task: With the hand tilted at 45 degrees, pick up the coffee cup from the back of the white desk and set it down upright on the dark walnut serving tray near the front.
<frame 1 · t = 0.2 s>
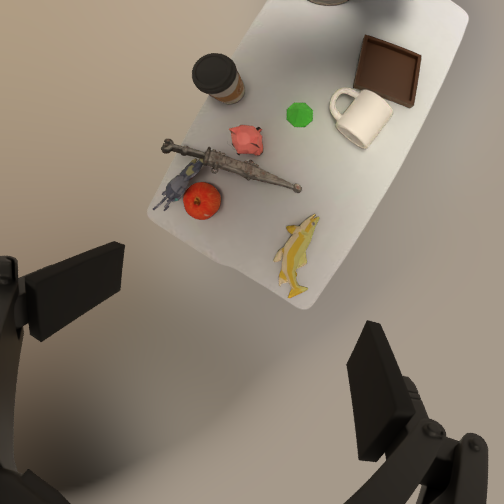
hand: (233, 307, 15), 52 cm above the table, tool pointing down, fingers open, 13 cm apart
coffee cup: (231, 91, 61), on the table
decorative dagger: (301, 190, 63), on the table, touching toy 2
cat figurine: (254, 144, 63), on the table
toy: (276, 248, 65), point 2 cm above the table
apple: (207, 199, 68), on the table, touching toy 2
mug: (353, 116, 58), on the table
toy 2: (202, 155, 63), point 3 cm above the table, touching apple, decorative dagger
green pyramid: (299, 114, 60), on the table
serving tray: (387, 72, 54), on the table
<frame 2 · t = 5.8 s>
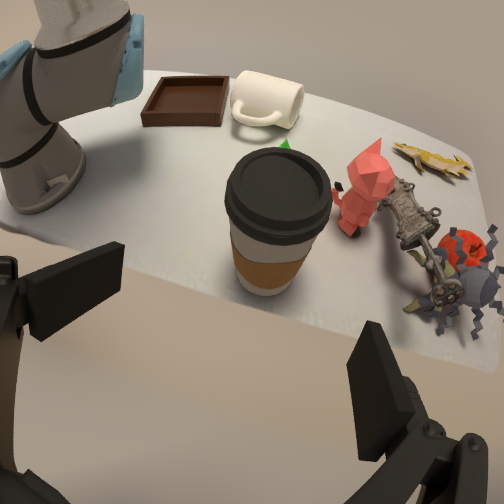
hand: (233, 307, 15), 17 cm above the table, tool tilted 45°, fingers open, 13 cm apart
coffee cup: (264, 272, 35), on the table
decorative dagger: (377, 161, 45), on the table, touching toy 2
cat figurine: (347, 220, 39), on the table
toy: (448, 175, 43), point 2 cm above the table
apple: (446, 274, 36), on the table, touching toy 2
mug: (261, 124, 48), on the table
toy 2: (403, 281, 32), point 3 cm above the table, touching apple, decorative dagger
serving tray: (188, 104, 50), on the table
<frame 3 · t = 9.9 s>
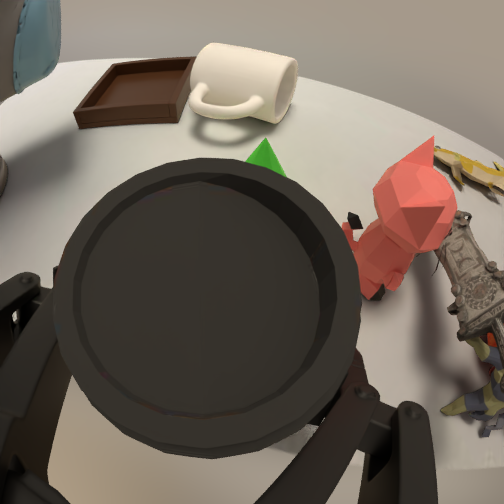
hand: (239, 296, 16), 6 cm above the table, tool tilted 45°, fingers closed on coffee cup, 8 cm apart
coffee cup: (223, 369, 20), on the table, touching gripper
decorative dagger: (404, 171, 30), on the table, touching toy 2
cat figurine: (365, 270, 24), on the table
toy: (495, 191, 28), point 2 cm above the table
apple: (497, 343, 21), on the table, touching toy 2
mug: (236, 117, 33), on the table
toy 2: (449, 378, 17), point 3 cm above the table, touching apple, decorative dagger
green pyramid: (260, 189, 28), on the table
serving tray: (141, 95, 35), on the table
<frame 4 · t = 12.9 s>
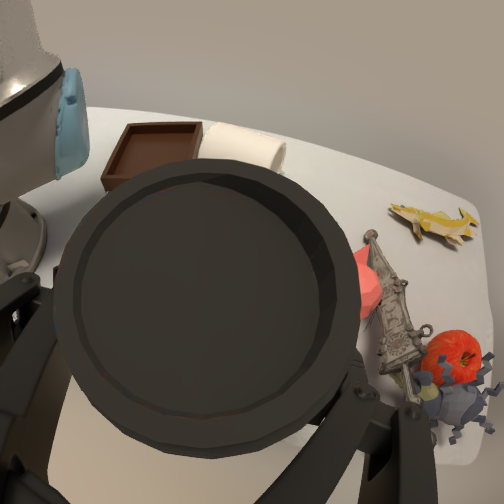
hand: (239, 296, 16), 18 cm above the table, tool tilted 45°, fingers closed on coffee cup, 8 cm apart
coffee cup: (223, 369, 20), point 12 cm above the table, touching gripper
decorative dagger: (369, 232, 40), on the table, touching toy 2
cat figurine: (326, 318, 34), on the table
toy: (450, 243, 38), point 2 cm above the table
apple: (433, 370, 31), on the table, touching toy 2
mug: (236, 186, 44), on the table
toy 2: (380, 396, 27), point 3 cm above the table, touching apple, decorative dagger
serving tray: (155, 159, 46), on the table
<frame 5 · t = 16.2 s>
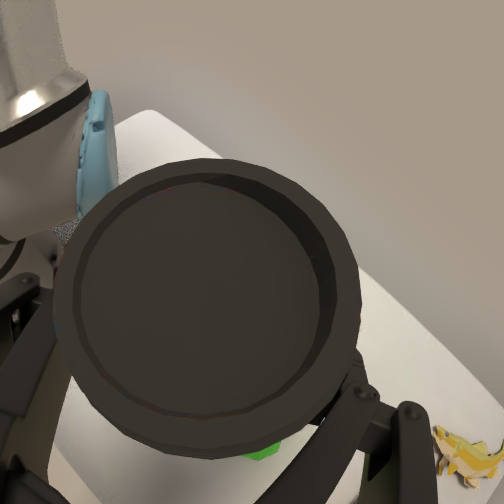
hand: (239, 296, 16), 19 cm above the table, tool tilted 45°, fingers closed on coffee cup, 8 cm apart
coffee cup: (223, 369, 20), point 13 cm above the table, touching gripper
toy: (464, 487, 21), point 2 cm above the table
green pyramid: (256, 435, 28), on the table
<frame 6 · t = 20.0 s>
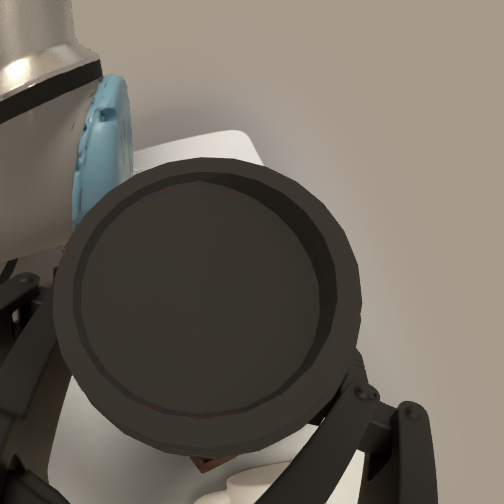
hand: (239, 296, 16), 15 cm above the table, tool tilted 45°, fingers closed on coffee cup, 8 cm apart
coffee cup: (223, 369, 20), point 10 cm above the table, touching gripper
serving tray: (227, 380, 28), on the table
when the fingers open (6 cm above the table, at t = 22.9 s): coffee cup stays where it is, resting on serving tray.
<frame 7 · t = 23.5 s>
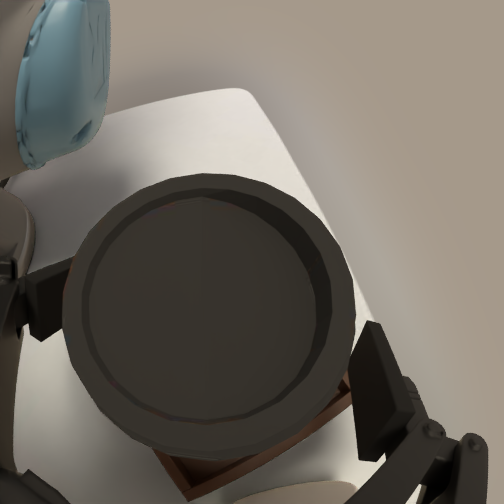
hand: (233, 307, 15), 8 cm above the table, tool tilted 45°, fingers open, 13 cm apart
coffee cup: (224, 373, 20), point 1 cm above the table, touching serving tray
serving tray: (224, 372, 21), on the table
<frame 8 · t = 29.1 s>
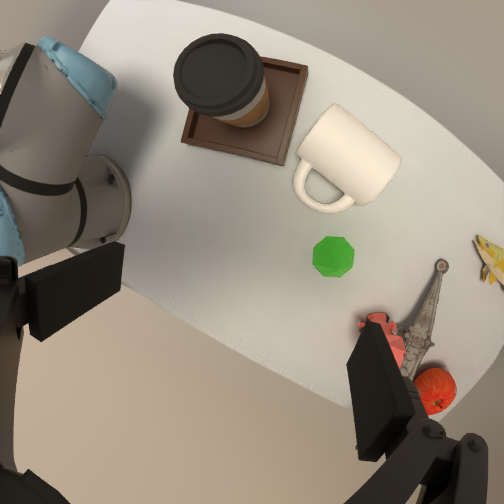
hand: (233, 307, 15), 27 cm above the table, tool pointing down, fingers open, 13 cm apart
coffee cup: (246, 106, 37), point 1 cm above the table, touching serving tray
decorative dagger: (444, 259, 37), on the table, touching toy 2
cat figurine: (371, 324, 41), on the table
apple: (426, 378, 42), on the table, touching toy 2
mug: (335, 168, 38), on the table
green pyramid: (333, 256, 40), on the table
serving tray: (246, 106, 37), on the table
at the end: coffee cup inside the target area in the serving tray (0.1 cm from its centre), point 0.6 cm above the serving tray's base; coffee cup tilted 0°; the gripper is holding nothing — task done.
